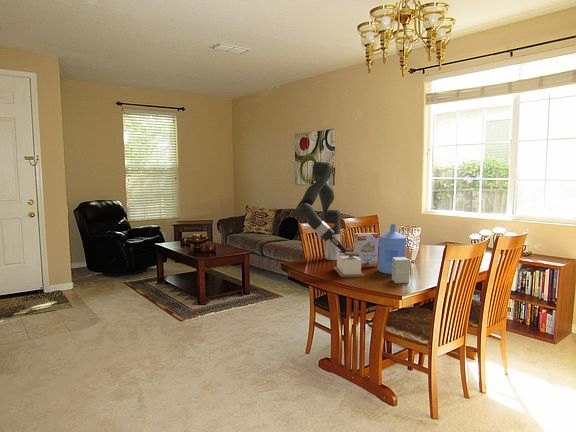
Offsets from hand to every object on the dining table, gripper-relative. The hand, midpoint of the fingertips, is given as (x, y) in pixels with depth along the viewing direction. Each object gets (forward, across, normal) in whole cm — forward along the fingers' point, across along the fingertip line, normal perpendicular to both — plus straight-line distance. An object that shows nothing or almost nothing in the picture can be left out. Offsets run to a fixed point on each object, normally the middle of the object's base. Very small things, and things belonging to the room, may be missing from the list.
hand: (345, 251), depth 238 cm
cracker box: (+22, +20, -3) cm, 29 cm away
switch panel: (+12, +6, +7) cm, 15 cm away
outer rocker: (+4, 0, 0) cm, 4 cm away
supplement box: (+28, -16, -9) cm, 34 cm away
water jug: (+30, +6, -11) cm, 33 cm away
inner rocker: (+4, +11, -1) cm, 12 cm away
